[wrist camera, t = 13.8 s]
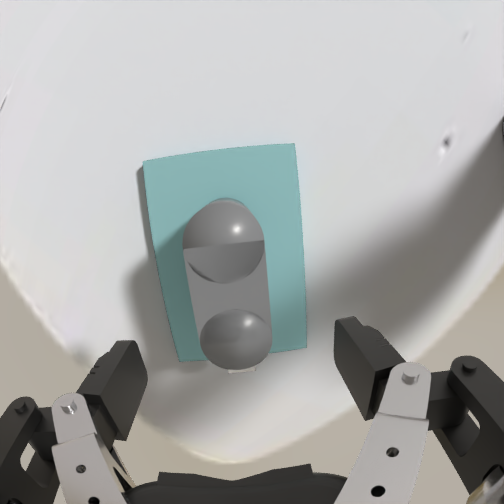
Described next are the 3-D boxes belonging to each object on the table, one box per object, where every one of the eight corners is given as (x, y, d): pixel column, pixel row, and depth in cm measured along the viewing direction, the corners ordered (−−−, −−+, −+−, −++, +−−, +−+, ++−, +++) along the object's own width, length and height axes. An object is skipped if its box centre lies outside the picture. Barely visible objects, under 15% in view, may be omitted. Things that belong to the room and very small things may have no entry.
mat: (292, 144, 21) (294, 143, 20) (304, 343, 26) (306, 347, 25) (145, 162, 21) (142, 161, 20) (180, 356, 25) (179, 361, 24)
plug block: (251, 194, 21) (260, 198, 14) (264, 334, 24) (275, 384, 17) (194, 201, 21) (177, 208, 14) (215, 339, 24) (211, 391, 17)
